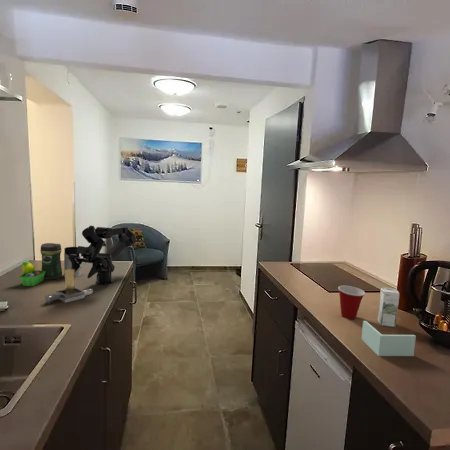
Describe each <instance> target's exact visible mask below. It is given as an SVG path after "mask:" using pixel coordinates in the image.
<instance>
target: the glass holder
mask: <svg viewBox="0 0 450 450" xmlns="http://www.w3.org/2000/svg"><path fill="white" fill-rule="evenodd" d="M77 249H78V246H67V247H64V254H63V255H64V256H63V257H64V258H63V259H64V261H63V262H64V264H63V265H64V269H63V270H64V273H63V276H64V277H65V269H71V268H72V263H71V262H70V260H69V259H68V257H69V255H70V254H76V255H78V256H79V257H80V258H83V257H82V256H81V254H80V253H77ZM86 264H87V263H85V262H83V263H82V264H81V265H80V267H79V269H78V270H77V271H76V272H75V278H76V277H79V276H81V275H82V273H81V269H82V268H83V267H84V266H85V265H86Z"/></svg>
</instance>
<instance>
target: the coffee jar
mask: <svg viewBox="0 0 450 450" xmlns="http://www.w3.org/2000/svg"><path fill="white" fill-rule="evenodd" d="M62 251H63V250H62V246H61V244H60V243H56V242H55V243H54V242H46V243H42V244H41V245H40V254H41V271H46V272H45V275H44V279H43V280H56V279H57V280H58V279H60V278H62V276H63V270H62V262H61V260H62V259H61V255H62Z"/></svg>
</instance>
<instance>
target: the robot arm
mask: <svg viewBox="0 0 450 450" xmlns="http://www.w3.org/2000/svg"><path fill="white" fill-rule="evenodd" d="M83 229H84V230H82V232H81V235H82V237H83V238H84V239H85V240H86V242H87V243H88V244H89V245H88V246H82V245H81V246H80V245H78V246H77V247H78V249H77V253H80V256H82V257H79V256H78V255H76V254H70V255H69V257H68V259H69V260H70V262H71V263H72V269H75V272H76V271H77V270H78V269H79V267H81V265H82V264H83V263H86V264H92V265H91V266H92V267H91V268H90V270H89V272H88V273H87V276H86V277H87V279H90V278H92V277H93V276H94V275H96V280H95V283H97V284H99V285H101V286H103V285H107V284H111V283H114V281H113V280H112V273H113V272H114V271H115V264H113V260H115V258H116V257H118V256H119V254H121V253H122V252H123V251H124V250H125V249H126V248H129V247H131V246H133V245H135V243H136V241H137V239H136V236H135V234H134V233H133V232H132V231H131V230H129V228H128V227H127V226H124V225H123V226H121V225H118V226H114V227H105V226H97V227H96V228H95V226H94V225H89V226H88V227H86V228H83ZM113 236H117V239H118V242H116V244H114V245H113V247H111V248H110V249H108V251H107V252H105V253H104V252H103V253H102V252H101V250H102V249H103V247H107V243H106V240H109V239H111V238H112V237H113ZM105 239H106V240H105Z"/></svg>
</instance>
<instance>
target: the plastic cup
mask: <svg viewBox="0 0 450 450" xmlns="http://www.w3.org/2000/svg"><path fill="white" fill-rule="evenodd" d="M337 290H338V293H339V304H340V315H341V318H345V319H348V320H355V319H356V318H357V315H358V311H359V308H360V306H361V302H362V299H363V298H364V296H365V295H366V292H365V291H364V290H363V289H361V288H358V287H355V286H351V285H340V286H338V287H337Z"/></svg>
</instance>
